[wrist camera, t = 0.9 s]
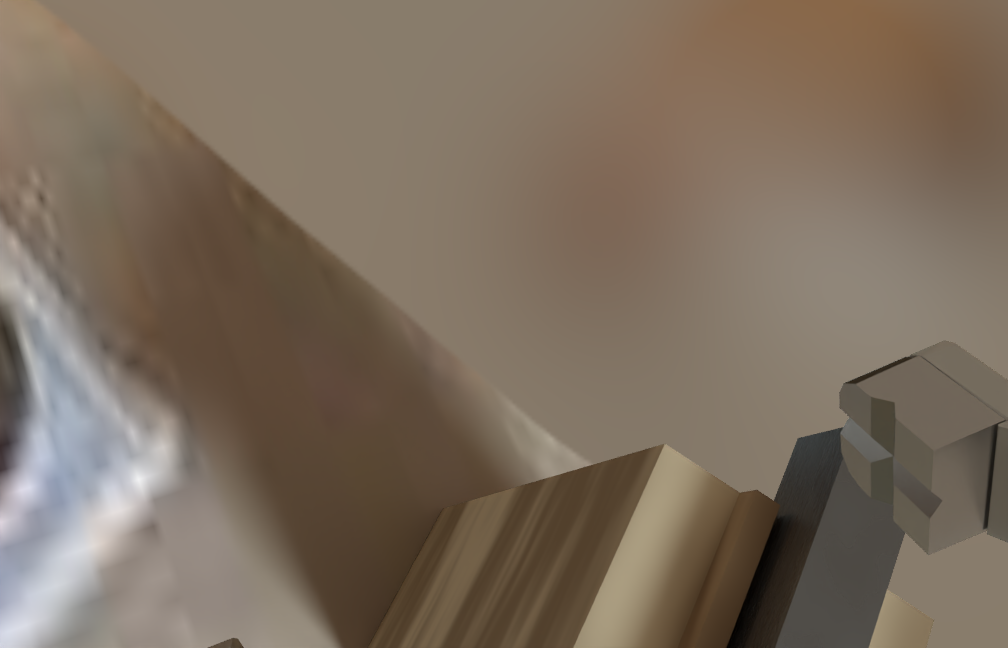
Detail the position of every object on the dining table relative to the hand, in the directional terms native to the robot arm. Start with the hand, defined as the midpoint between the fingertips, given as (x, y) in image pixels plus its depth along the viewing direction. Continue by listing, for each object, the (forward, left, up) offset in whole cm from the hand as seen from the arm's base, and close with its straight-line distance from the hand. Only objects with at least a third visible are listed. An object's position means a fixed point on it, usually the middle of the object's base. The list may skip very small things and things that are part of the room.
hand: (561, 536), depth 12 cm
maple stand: (+14, +4, -43) cm, 45 cm away
